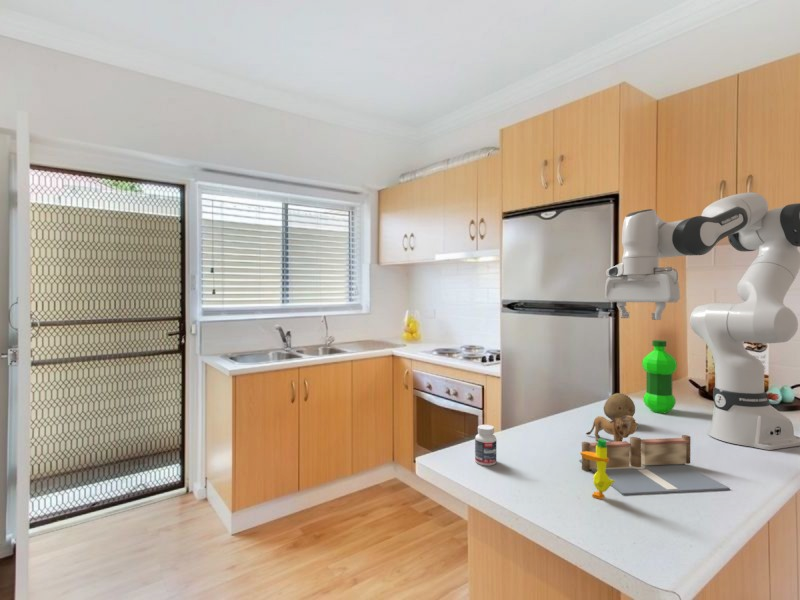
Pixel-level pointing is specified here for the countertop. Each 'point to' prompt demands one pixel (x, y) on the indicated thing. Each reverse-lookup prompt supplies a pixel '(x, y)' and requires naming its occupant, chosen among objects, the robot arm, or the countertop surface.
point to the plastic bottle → (659, 378)
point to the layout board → (660, 479)
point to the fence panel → (665, 451)
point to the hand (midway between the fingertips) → (640, 319)
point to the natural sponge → (619, 406)
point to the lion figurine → (615, 427)
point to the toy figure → (599, 468)
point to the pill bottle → (485, 445)
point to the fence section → (615, 454)
